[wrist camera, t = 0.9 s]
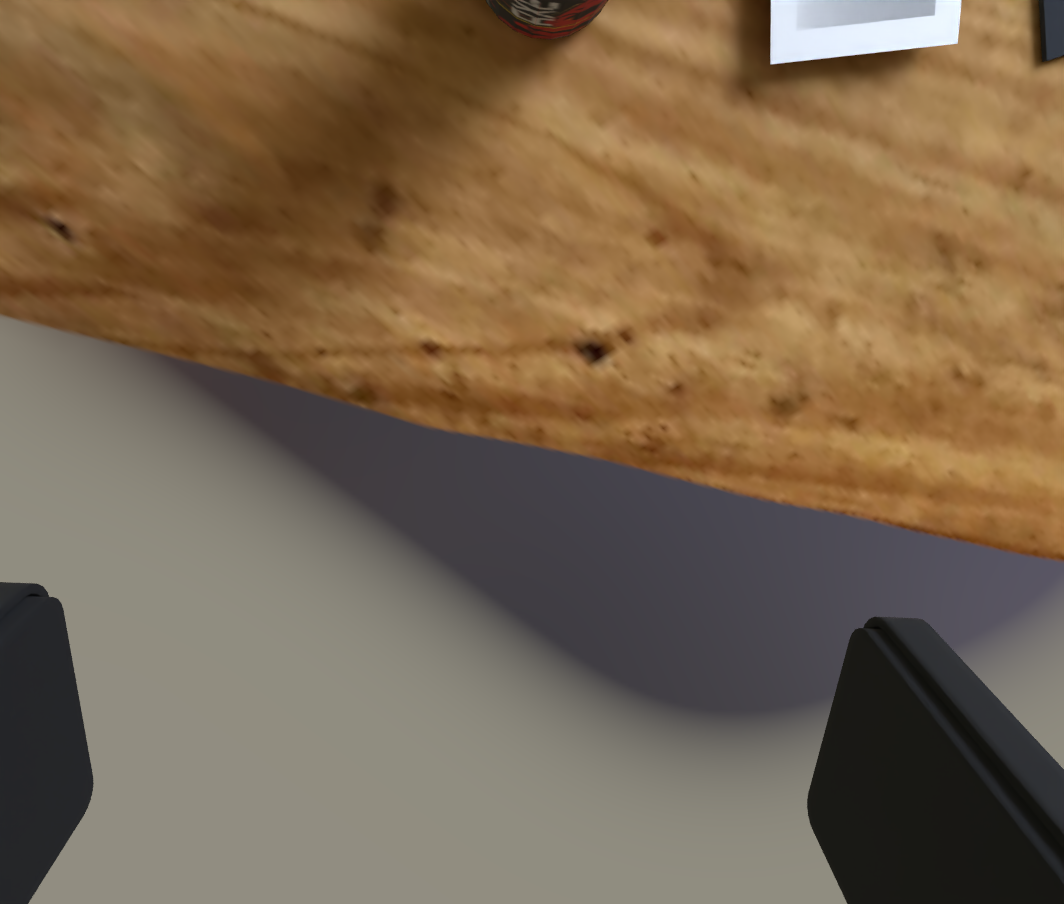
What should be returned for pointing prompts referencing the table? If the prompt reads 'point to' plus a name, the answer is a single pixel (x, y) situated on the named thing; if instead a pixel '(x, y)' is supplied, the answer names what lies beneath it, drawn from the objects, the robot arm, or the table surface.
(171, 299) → the table surface
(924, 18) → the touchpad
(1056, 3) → the mouse mat
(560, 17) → the deodorant
